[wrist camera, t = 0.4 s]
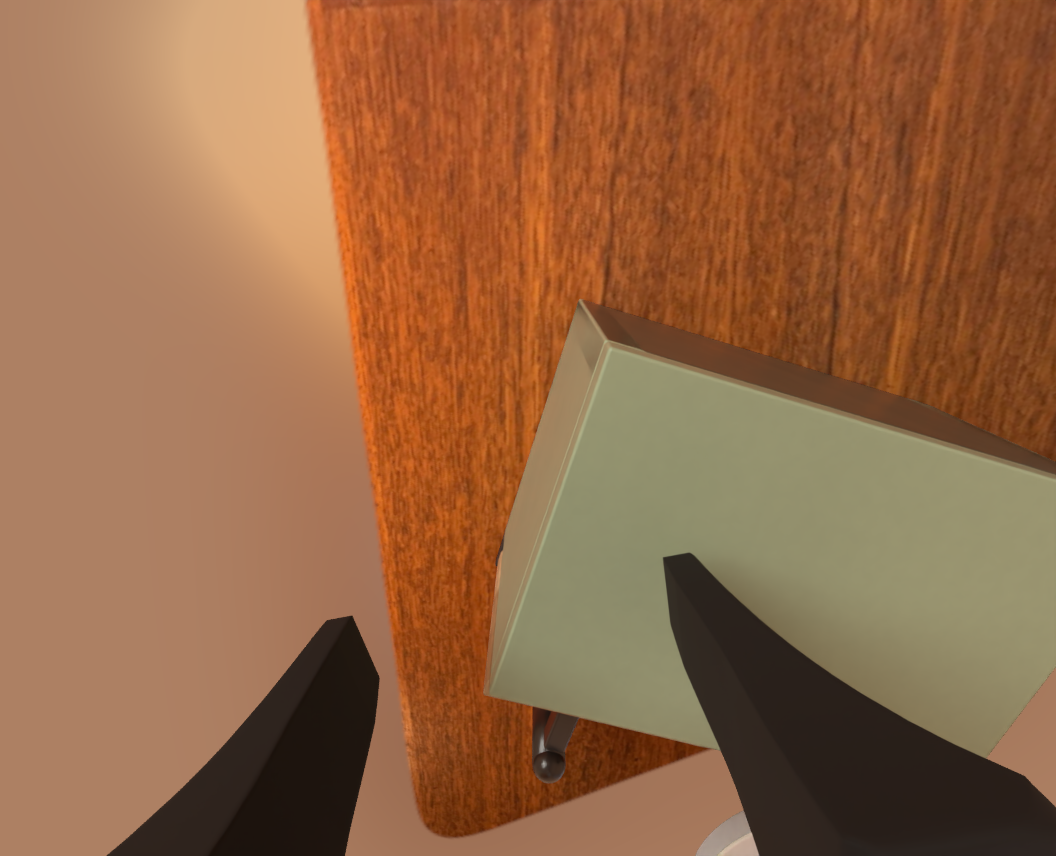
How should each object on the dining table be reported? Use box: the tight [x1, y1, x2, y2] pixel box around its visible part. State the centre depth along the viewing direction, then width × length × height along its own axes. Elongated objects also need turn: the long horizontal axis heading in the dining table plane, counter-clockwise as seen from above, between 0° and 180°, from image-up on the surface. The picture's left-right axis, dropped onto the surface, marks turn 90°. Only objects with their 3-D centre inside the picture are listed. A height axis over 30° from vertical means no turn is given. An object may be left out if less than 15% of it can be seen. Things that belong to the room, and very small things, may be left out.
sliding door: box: [483, 551, 705, 783], centre depth 21 cm, size 6×7×7 cm
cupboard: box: [489, 299, 1056, 758], centre depth 19 cm, size 11×14×9 cm
